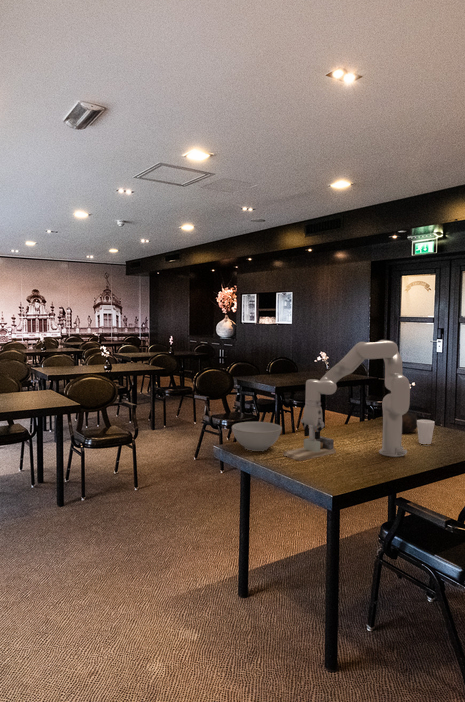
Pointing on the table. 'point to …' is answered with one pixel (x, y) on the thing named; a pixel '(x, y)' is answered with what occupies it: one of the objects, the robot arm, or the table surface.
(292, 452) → the base
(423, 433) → the foam cup
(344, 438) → the table surface
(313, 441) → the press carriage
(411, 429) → the dark brown vase
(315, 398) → the robot arm
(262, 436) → the decorative bowl
